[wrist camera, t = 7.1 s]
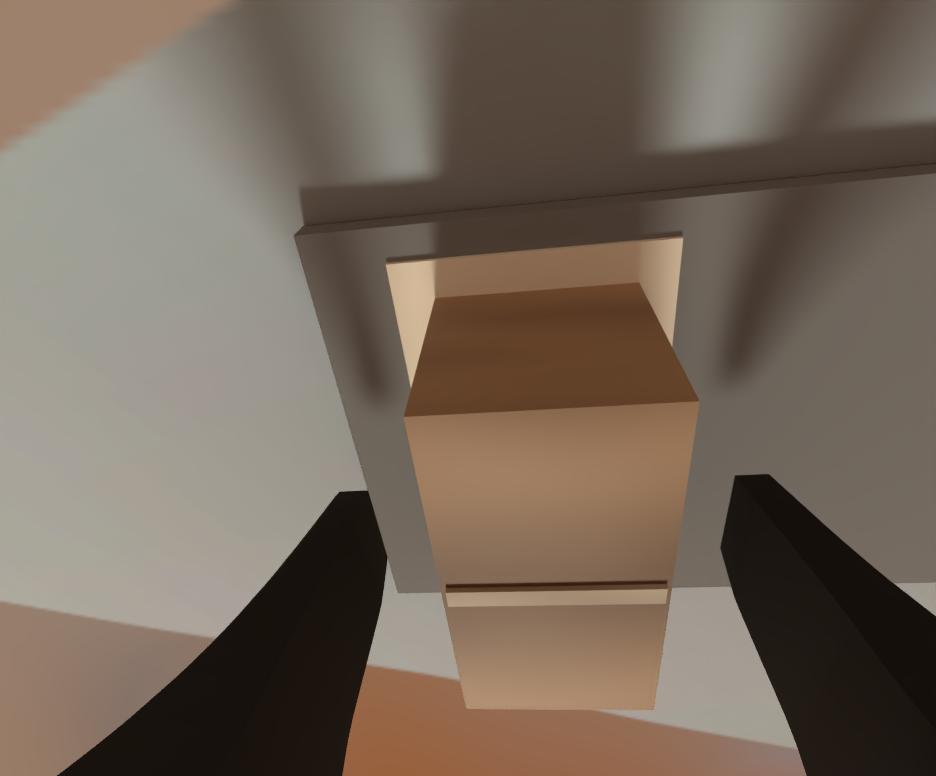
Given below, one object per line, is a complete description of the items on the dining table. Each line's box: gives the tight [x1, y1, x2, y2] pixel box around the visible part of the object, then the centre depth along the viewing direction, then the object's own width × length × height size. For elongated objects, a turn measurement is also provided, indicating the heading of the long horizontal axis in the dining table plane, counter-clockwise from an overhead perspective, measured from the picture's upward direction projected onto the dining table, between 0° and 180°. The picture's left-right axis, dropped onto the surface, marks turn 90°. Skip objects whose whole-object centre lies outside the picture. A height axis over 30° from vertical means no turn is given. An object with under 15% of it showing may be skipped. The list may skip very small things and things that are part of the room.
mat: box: [294, 164, 936, 593], centre depth 13 cm, size 18×11×1 cm, turn 97°
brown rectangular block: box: [404, 283, 700, 710], centre depth 11 cm, size 8×4×4 cm, turn 6°
